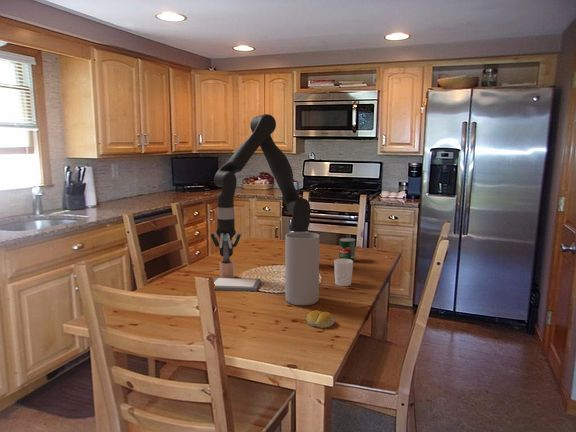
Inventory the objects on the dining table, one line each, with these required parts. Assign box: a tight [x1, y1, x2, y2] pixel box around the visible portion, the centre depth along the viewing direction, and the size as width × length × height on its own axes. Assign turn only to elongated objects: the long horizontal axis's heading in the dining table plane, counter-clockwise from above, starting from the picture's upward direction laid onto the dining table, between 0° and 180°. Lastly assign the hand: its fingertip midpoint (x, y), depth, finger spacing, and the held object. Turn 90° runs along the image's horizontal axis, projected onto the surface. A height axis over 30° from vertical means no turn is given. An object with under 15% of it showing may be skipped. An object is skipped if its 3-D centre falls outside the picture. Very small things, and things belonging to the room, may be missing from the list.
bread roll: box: [306, 310, 336, 329], centre depth 142 cm, size 8×9×4 cm
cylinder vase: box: [284, 231, 320, 307], centre depth 162 cm, size 12×12×25 cm
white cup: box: [333, 258, 354, 287], centre depth 183 cm, size 8×8×10 cm
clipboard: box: [213, 277, 262, 292], centre depth 181 cm, size 20×13×1 cm, turn 84°
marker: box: [222, 234, 231, 264], centre depth 191 cm, size 3×3×13 cm
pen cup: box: [218, 259, 235, 278], centre depth 192 cm, size 6×6×7 cm
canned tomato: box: [338, 237, 356, 263], centre depth 221 cm, size 8×8×11 cm
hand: (226, 255), depth 191 cm, fingers closed on marker, 3 cm apart
